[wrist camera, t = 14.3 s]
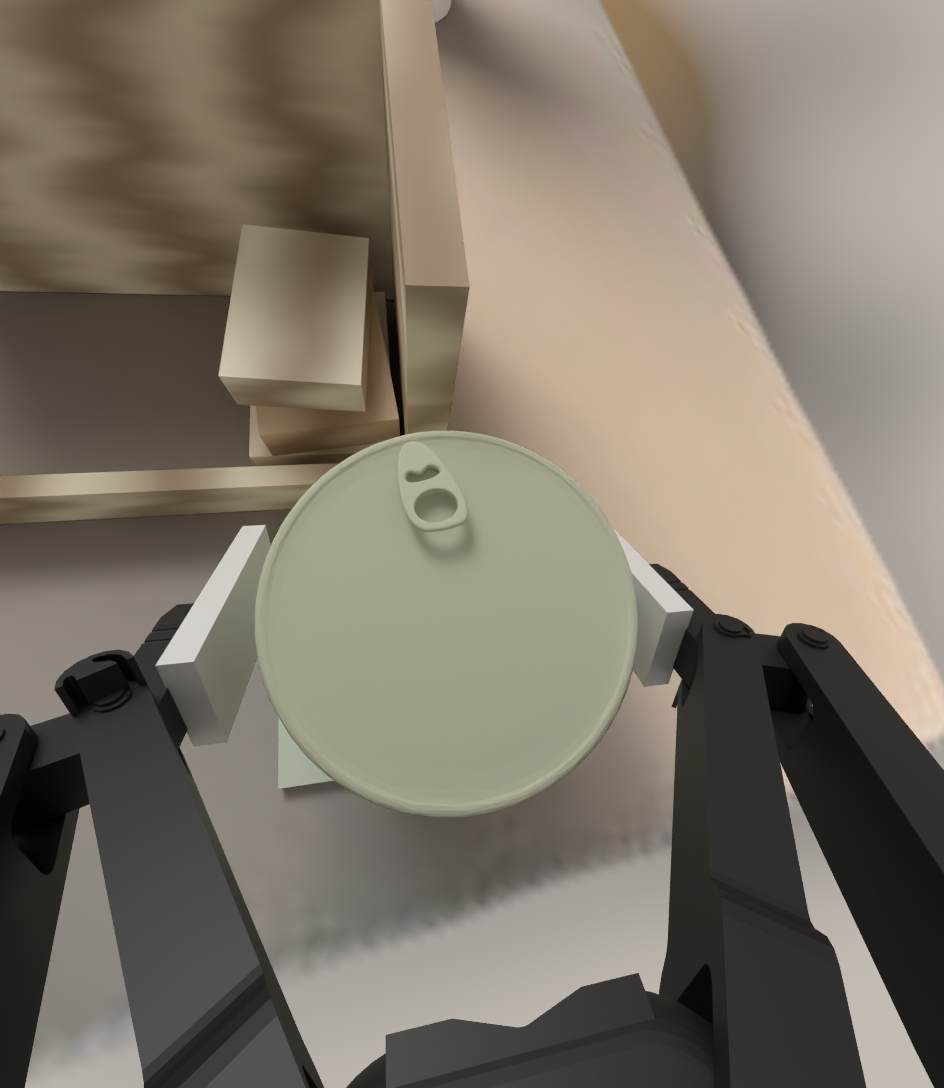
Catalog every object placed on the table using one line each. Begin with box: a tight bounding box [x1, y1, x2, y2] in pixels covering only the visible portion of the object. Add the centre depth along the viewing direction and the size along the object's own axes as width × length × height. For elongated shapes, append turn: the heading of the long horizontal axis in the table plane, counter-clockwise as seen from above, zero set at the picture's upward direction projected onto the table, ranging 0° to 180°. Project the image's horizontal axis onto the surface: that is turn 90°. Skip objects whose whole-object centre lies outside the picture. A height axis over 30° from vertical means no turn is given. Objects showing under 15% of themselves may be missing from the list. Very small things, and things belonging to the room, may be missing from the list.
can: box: [255, 431, 638, 818], centre depth 15 cm, size 9×9×12 cm
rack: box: [0, 0, 469, 524], centre depth 17 cm, size 24×15×14 cm, turn 96°
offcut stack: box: [219, 224, 400, 466], centre depth 22 cm, size 7×10×6 cm
